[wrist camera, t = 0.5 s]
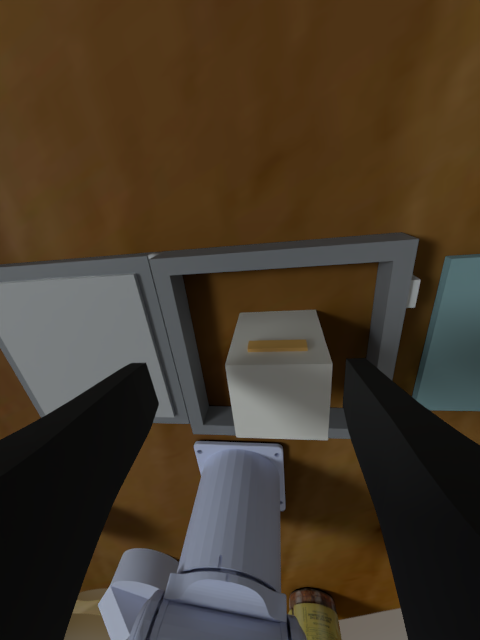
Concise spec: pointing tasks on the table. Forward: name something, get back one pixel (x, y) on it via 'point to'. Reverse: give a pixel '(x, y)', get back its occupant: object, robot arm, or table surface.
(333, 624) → the sauce bottle
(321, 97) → the table surface
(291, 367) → the block
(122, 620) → the wedge on round base
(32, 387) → the case
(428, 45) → the table surface
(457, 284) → the mat
